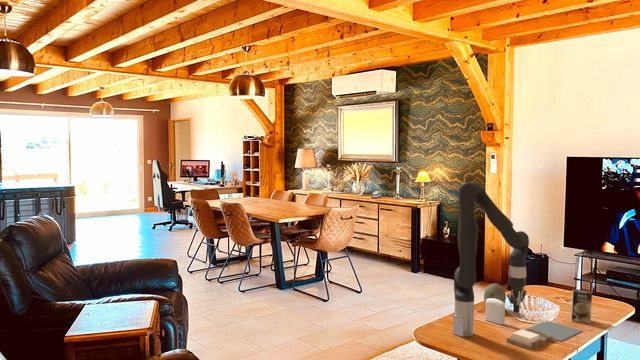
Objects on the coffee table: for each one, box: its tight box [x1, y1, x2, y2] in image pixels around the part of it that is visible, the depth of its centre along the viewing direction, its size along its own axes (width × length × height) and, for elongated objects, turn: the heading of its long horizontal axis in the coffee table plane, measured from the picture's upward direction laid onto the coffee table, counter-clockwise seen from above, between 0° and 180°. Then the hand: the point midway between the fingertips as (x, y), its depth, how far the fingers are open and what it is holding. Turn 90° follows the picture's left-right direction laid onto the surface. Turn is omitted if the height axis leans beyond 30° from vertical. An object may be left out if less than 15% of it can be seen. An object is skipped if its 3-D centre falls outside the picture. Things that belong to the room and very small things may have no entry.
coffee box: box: [570, 288, 593, 324], centre depth 277 cm, size 9×6×16 cm
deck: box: [506, 329, 554, 351], centre depth 249 cm, size 20×12×2 cm, turn 128°
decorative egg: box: [483, 282, 507, 305], centre depth 295 cm, size 12×12×15 cm
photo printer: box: [484, 298, 506, 325], centre depth 274 cm, size 10×4×12 cm, turn 39°
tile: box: [511, 328, 539, 344], centre depth 246 cm, size 8×9×2 cm
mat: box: [523, 320, 583, 343], centre depth 262 cm, size 22×19×1 cm
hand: (516, 312), depth 239 cm, fingers closed
